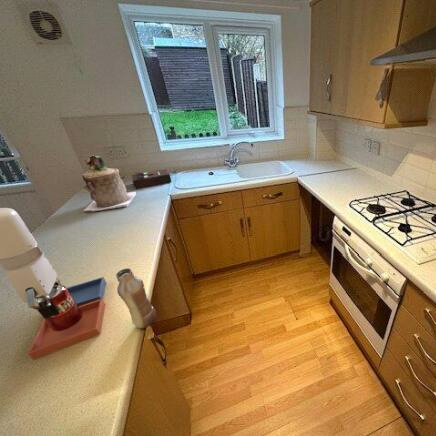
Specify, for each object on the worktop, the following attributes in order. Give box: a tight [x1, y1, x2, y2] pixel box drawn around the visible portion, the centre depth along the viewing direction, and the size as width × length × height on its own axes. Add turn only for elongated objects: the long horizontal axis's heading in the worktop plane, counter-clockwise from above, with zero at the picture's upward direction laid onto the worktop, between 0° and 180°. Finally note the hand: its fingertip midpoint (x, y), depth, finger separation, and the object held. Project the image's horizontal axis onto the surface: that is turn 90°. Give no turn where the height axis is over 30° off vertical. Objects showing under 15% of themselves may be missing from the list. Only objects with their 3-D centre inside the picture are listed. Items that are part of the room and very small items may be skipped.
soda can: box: [36, 284, 83, 332], centre depth 69 cm, size 7×7×12 cm
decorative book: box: [130, 168, 173, 190], centre depth 189 cm, size 19×8×30 cm
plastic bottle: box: [115, 268, 157, 329], centre depth 70 cm, size 6×7×20 cm
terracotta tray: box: [27, 298, 106, 360], centre depth 73 cm, size 15×13×3 cm
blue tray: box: [66, 276, 107, 307], centre depth 84 cm, size 13×11×3 cm
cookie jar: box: [82, 154, 137, 213], centre depth 150 cm, size 25×25×32 cm
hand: (56, 305), depth 68 cm, fingers closed on soda can, 7 cm apart
